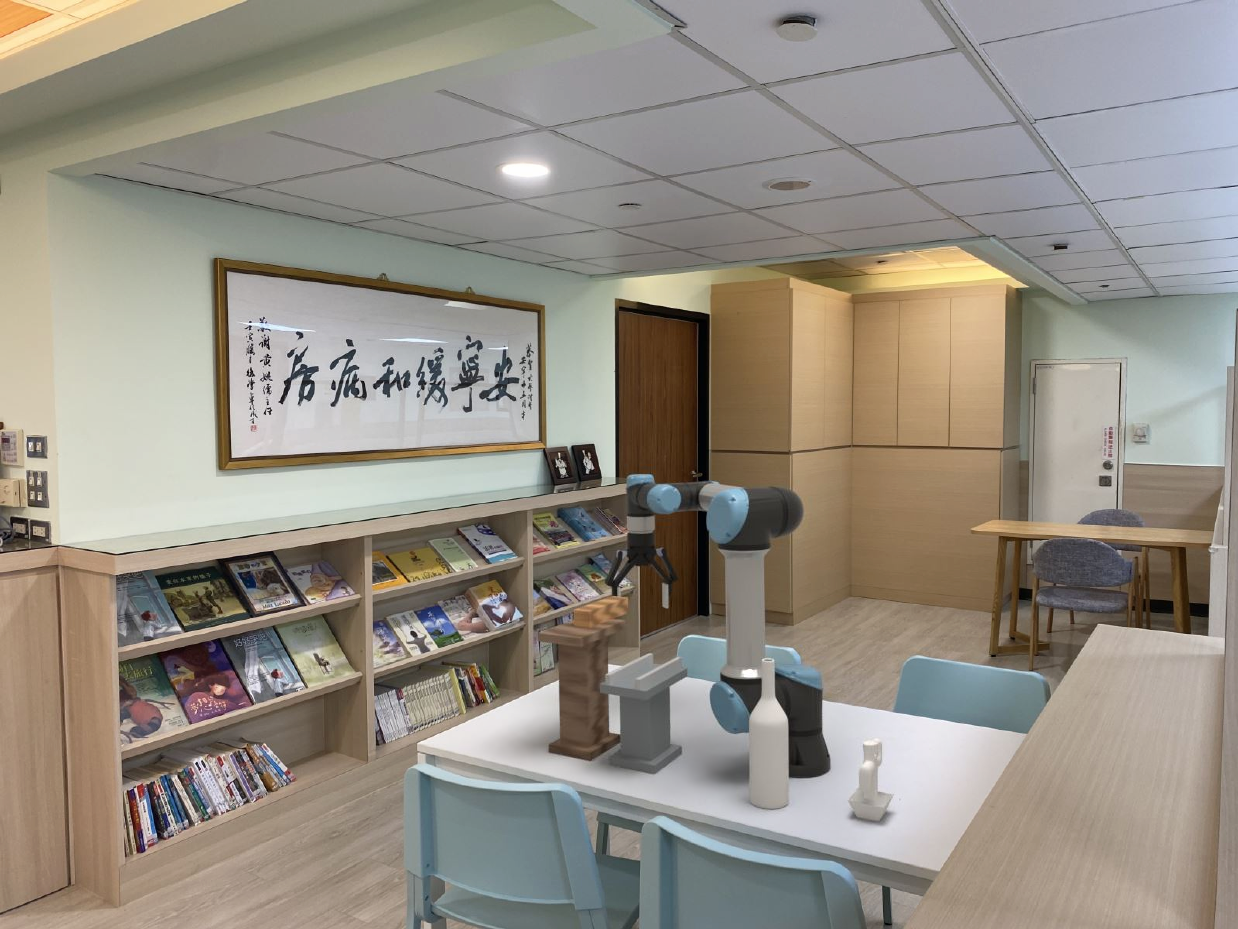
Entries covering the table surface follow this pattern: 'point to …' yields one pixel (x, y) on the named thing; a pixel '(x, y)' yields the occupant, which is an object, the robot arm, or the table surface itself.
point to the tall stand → (583, 688)
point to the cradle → (644, 712)
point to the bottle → (768, 746)
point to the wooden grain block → (600, 611)
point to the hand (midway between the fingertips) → (642, 609)
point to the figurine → (870, 785)
